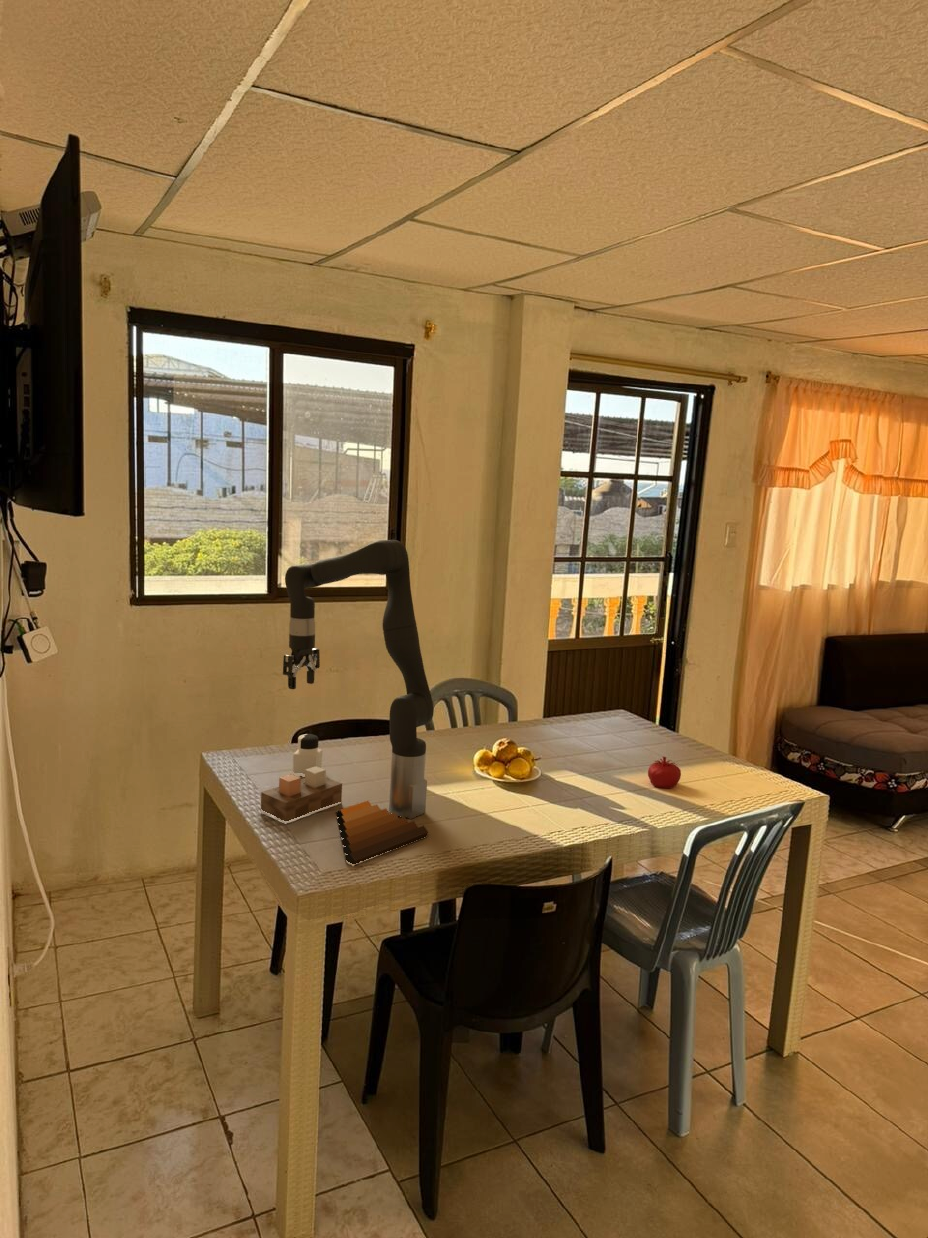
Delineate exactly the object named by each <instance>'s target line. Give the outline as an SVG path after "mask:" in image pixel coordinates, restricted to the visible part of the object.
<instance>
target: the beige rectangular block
mask: <svg viewBox="0 0 928 1238" xmlns="http://www.w3.org/2000/svg"><path fill="white" fill-rule="evenodd" d="M326 775H327V770H326V769H324V768H323V767H322V768H319V767H316V766H315V767H312V768H309V769H306V770H305V785H308V786H311V787H313V788H316V787H319V786H322V785H325V779H326V778H327V777H326Z"/></svg>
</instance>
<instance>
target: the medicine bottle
mask: <svg viewBox="0 0 928 1238" xmlns="http://www.w3.org/2000/svg"><path fill="white" fill-rule="evenodd" d="M292 756H293V757H292V773H293V772H294V773H303V774H305V770H306V769H309V768H312V767H315V766H316V767H319V768H321V767H322V768H323V766H322V765H323V749H322V748H319V737H318V736H317V735H315V734H312V733H305V734H301V735H299V736H298V737H297V750H296V751H294V753H293V755H292Z"/></svg>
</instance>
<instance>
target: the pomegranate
mask: <svg viewBox="0 0 928 1238" xmlns="http://www.w3.org/2000/svg"><path fill="white" fill-rule="evenodd" d="M670 761H671V762H670ZM672 761H673V760H671V759H669V760H667V757H666V756H662V758H659V760H654V762H653V763H651V764H650V766H649V768H648V770H647V776H648V779H649V780H650V781H649V782H650V783H651V784H652V786H653V787H656V788H662V789H671V788H674V787H676V786H677V785H678V783H679V782H680V781H681V780H680V779H681V777H682V772H681V771H682V770H681V769H680V767H679V766H677V765H678V764H676V763H675V762H672Z"/></svg>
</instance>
